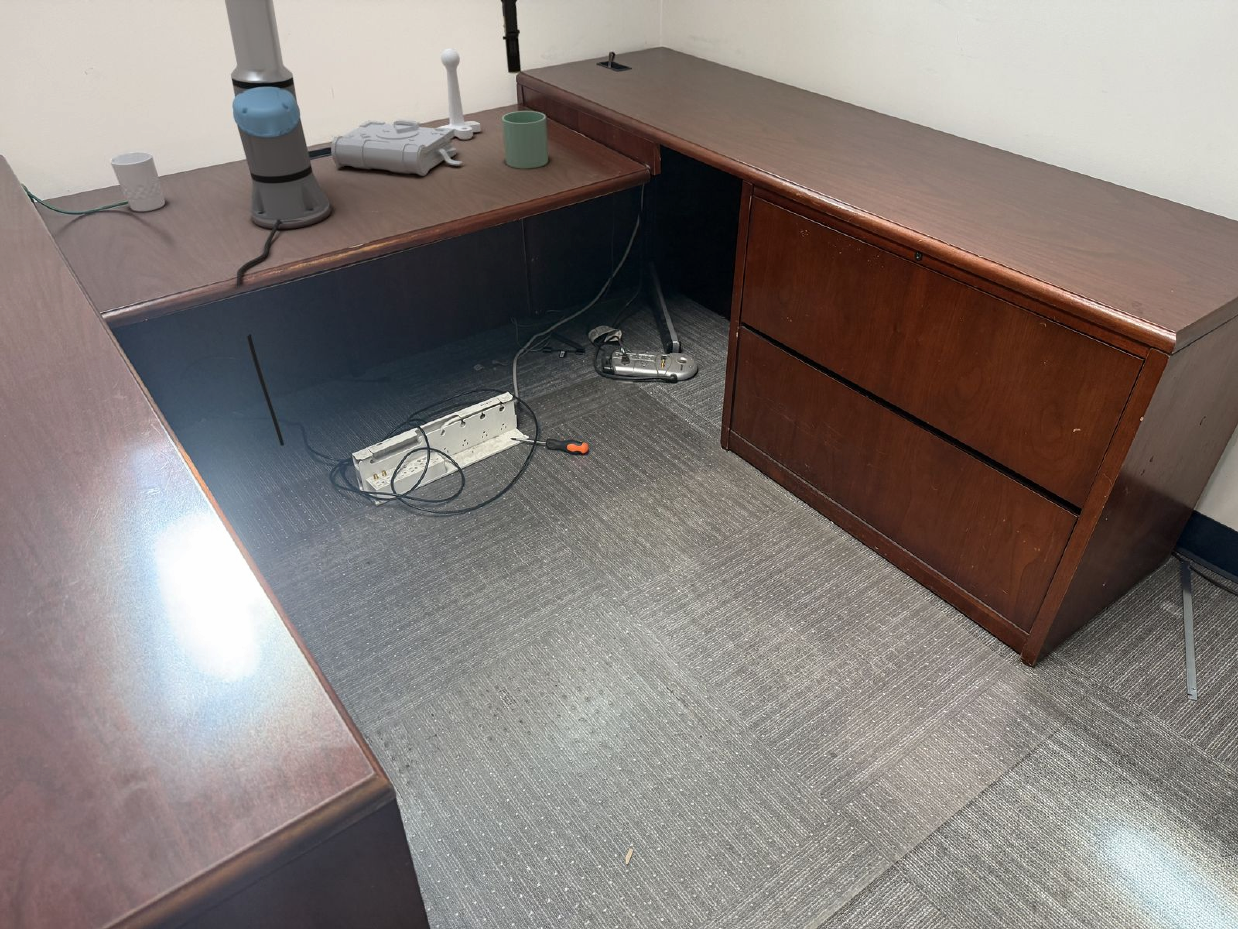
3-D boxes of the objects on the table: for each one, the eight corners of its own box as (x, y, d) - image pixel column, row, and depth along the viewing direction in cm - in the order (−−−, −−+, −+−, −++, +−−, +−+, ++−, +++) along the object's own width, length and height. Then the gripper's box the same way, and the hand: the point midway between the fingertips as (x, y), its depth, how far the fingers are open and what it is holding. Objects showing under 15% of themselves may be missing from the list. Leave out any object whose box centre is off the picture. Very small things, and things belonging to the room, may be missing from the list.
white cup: (153, 214, 174) (135, 165, 168) (119, 211, 176) (100, 162, 170) (176, 200, 180) (160, 152, 174) (143, 197, 182) (126, 150, 176)
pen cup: (550, 166, 196) (547, 122, 189) (507, 169, 194) (503, 124, 188) (546, 153, 203) (543, 109, 197) (504, 155, 202) (500, 111, 196)
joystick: (472, 128, 219) (464, 44, 207) (488, 135, 215) (480, 49, 203) (434, 136, 214) (424, 49, 202) (449, 143, 209) (440, 55, 197)
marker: (521, 73, 184) (516, 6, 176) (508, 73, 184) (502, 6, 176) (520, 69, 186) (515, 3, 178) (507, 70, 186) (501, 4, 178)
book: (441, 181, 188) (437, 146, 184) (331, 169, 195) (324, 134, 190) (477, 156, 203) (474, 123, 199) (373, 145, 209) (368, 112, 205)
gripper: (525, -52, 164) (534, 77, 179) (520, -62, 177) (528, 60, 191) (486, -51, 164) (498, 79, 178) (484, -61, 176) (495, 61, 190)
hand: (514, 69), depth 185 cm, fingers closed on marker, 3 cm apart
